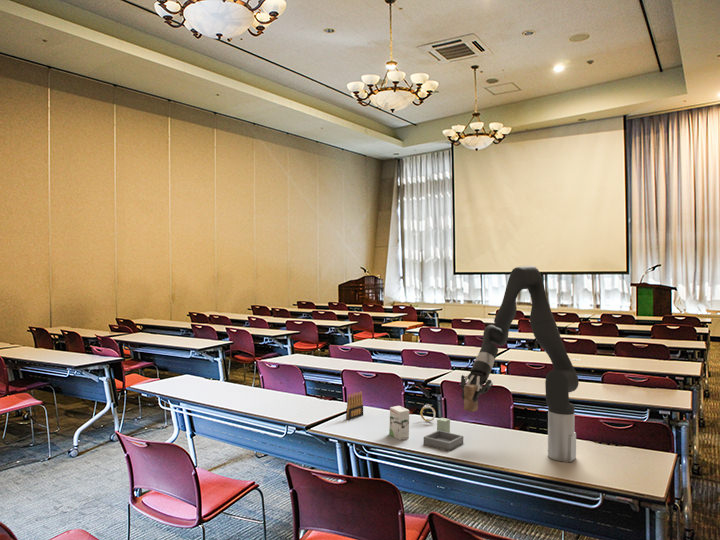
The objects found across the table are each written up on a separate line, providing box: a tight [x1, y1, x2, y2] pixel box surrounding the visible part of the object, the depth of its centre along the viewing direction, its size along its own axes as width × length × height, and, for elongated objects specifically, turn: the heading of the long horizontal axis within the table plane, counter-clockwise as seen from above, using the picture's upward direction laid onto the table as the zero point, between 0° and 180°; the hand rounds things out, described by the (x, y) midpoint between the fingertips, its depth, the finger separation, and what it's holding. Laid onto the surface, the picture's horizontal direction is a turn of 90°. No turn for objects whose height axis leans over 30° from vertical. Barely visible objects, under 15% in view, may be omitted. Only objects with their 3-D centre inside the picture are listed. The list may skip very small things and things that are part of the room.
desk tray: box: [423, 430, 464, 452], centre depth 202 cm, size 12×12×3 cm
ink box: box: [388, 405, 410, 441], centre depth 211 cm, size 9×5×12 cm, turn 28°
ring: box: [419, 403, 437, 423], centre depth 232 cm, size 7×3×8 cm, turn 61°
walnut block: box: [463, 383, 479, 413], centre depth 203 cm, size 4×4×10 cm
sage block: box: [436, 417, 451, 433], centre depth 216 cm, size 4×4×6 cm
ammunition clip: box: [345, 390, 364, 421], centre depth 238 cm, size 11×2×12 cm, turn 140°
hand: (468, 399), depth 201 cm, fingers closed on walnut block, 4 cm apart
